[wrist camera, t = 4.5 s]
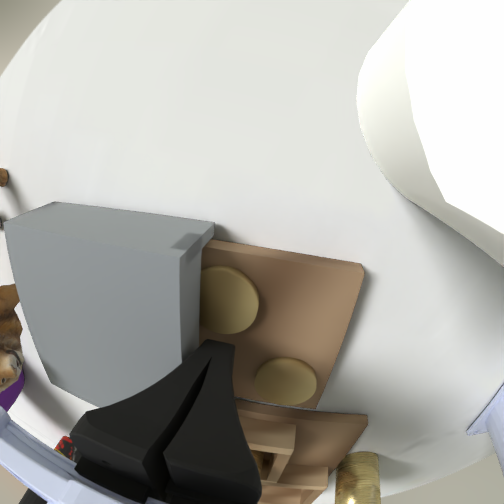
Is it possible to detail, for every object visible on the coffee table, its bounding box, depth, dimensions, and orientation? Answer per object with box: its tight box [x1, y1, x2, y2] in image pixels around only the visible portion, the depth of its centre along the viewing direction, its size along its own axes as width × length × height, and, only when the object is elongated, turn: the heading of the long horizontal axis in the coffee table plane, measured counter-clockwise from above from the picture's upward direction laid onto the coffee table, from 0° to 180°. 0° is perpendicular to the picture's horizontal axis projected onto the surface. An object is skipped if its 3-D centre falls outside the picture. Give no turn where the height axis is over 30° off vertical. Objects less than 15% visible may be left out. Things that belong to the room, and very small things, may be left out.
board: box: [199, 239, 365, 409], centre depth 14 cm, size 8×9×2 cm
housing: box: [3, 202, 215, 408], centre depth 13 cm, size 10×11×4 cm
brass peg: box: [335, 452, 381, 504], centre depth 16 cm, size 4×4×6 cm
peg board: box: [235, 399, 368, 504], centre depth 18 cm, size 12×14×3 cm
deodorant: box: [19, 436, 82, 504], centre depth 22 cm, size 6×6×15 cm
